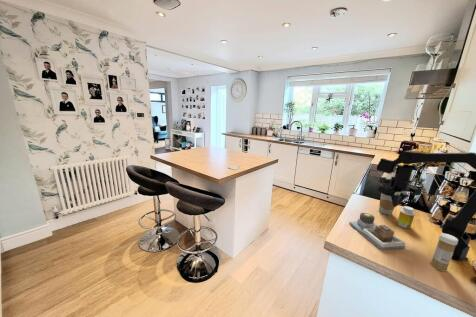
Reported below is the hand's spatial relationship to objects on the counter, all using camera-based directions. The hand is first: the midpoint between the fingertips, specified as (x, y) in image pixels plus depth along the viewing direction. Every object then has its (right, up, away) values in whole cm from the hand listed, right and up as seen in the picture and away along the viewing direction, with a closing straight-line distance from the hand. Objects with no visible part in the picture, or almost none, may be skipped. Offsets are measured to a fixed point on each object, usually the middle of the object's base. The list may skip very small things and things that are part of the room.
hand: (394, 206), depth 94 cm
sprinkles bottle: (-1, -18, -22) cm, 28 cm away
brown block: (-12, -13, -8) cm, 19 cm away
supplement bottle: (+9, -12, +5) cm, 16 cm away
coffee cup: (+9, -8, +18) cm, 22 cm away
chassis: (-13, -13, -4) cm, 18 cm away
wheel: (-13, -7, +1) cm, 15 cm away
